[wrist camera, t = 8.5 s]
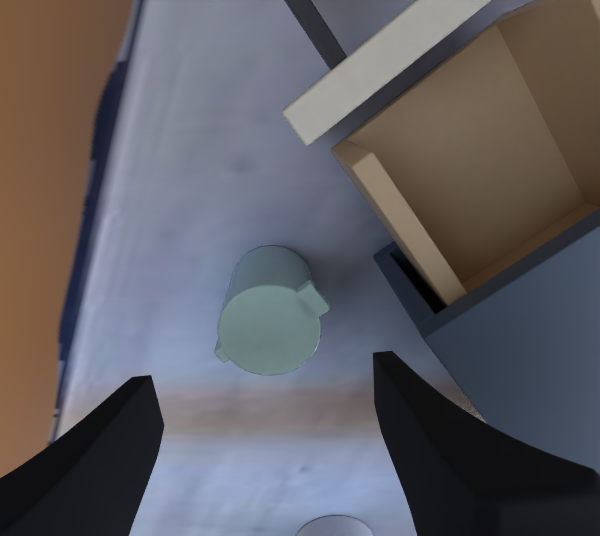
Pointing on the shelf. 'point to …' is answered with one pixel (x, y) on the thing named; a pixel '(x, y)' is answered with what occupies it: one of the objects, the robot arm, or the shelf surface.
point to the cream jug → (270, 313)
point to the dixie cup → (335, 527)
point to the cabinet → (523, 341)
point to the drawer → (467, 132)
